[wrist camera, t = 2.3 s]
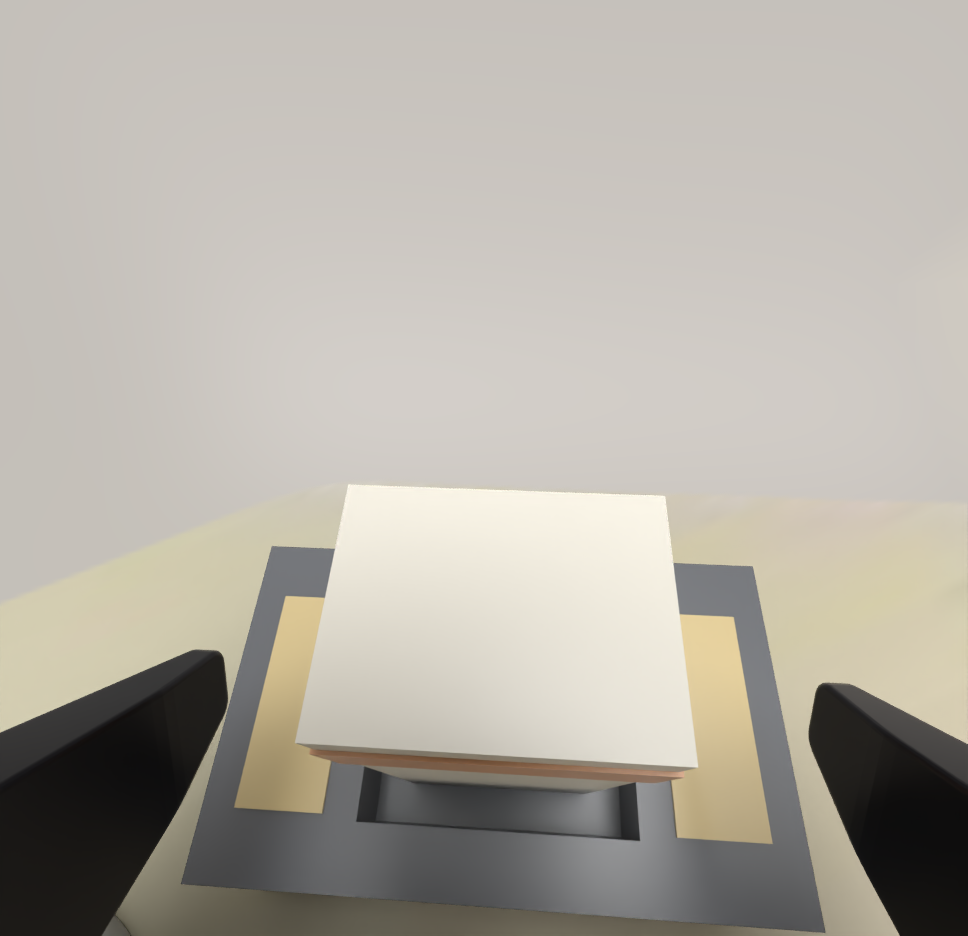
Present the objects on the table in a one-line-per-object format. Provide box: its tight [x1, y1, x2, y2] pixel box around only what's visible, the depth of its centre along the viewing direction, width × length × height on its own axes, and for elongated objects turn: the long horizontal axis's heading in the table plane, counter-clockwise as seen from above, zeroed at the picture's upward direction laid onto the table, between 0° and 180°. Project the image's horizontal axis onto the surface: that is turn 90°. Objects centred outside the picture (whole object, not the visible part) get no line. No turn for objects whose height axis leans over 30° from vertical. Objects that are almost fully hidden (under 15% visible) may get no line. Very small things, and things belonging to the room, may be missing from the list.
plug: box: [295, 485, 698, 794], centre depth 10 cm, size 3×4×9 cm
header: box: [181, 546, 825, 933], centre depth 14 cm, size 7×12×5 cm, turn 87°
